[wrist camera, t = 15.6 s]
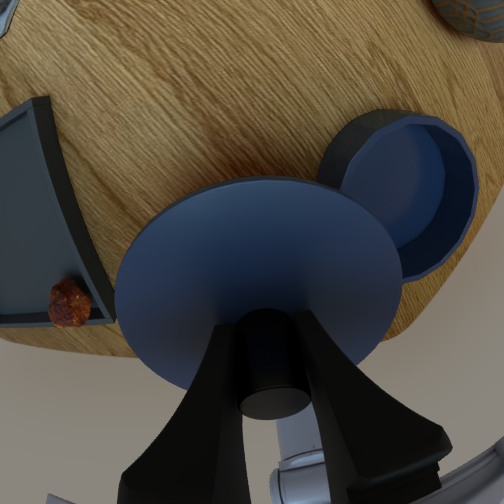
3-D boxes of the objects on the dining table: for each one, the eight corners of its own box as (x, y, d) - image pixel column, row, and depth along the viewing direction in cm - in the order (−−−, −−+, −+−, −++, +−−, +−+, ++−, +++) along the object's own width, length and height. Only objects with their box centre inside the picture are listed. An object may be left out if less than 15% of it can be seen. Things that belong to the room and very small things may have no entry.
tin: (436, 244, 20) (461, 268, 17) (318, 266, 21) (333, 299, 17) (449, 113, 15) (484, 123, 12) (309, 110, 15) (330, 115, 12)
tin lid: (372, 362, 15) (398, 426, 11) (174, 393, 15) (168, 461, 11) (403, 155, 9) (492, 203, 5) (79, 208, 9) (9, 282, 5)
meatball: (103, 302, 20) (87, 338, 17) (70, 305, 20) (52, 338, 17) (85, 265, 18) (63, 300, 15) (52, 271, 18) (29, 302, 15)
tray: (121, 306, 21) (114, 323, 20) (3, 315, 22) (-5, 328, 20) (49, 95, 12) (31, 97, 11) (-60, 175, 13) (-73, 183, 11)
